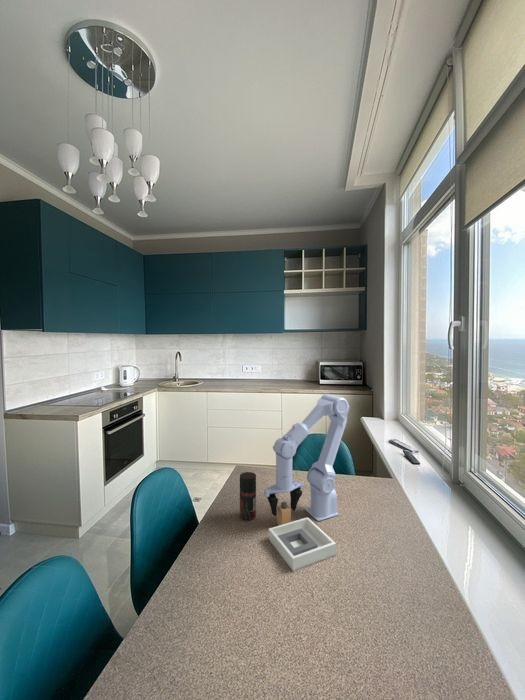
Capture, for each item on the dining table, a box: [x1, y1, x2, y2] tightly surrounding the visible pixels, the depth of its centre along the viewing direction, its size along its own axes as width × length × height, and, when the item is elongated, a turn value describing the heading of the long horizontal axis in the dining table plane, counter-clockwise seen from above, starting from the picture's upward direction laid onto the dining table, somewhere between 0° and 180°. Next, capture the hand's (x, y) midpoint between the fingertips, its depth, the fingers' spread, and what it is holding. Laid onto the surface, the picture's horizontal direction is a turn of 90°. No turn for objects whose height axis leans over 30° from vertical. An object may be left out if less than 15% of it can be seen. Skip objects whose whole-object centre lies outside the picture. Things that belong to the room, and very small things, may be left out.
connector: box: [276, 501, 292, 526], centre depth 105 cm, size 4×4×8 cm
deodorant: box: [239, 471, 257, 522], centre depth 110 cm, size 6×6×15 cm
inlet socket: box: [278, 528, 318, 556], centre depth 93 cm, size 9×9×2 cm
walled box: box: [268, 516, 337, 572], centre depth 93 cm, size 15×15×4 cm
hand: (283, 512), depth 105 cm, fingers open, 7 cm apart
